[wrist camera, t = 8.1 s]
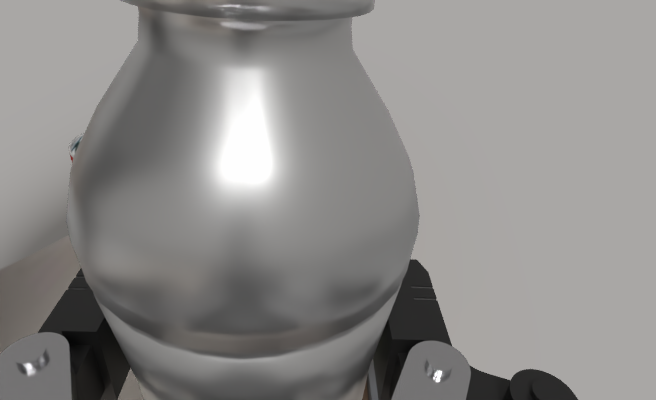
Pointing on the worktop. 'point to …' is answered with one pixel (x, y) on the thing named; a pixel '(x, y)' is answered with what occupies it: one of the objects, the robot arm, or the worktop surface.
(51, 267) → the worktop surface
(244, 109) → the plastic bottle
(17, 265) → the worktop surface
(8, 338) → the worktop surface
